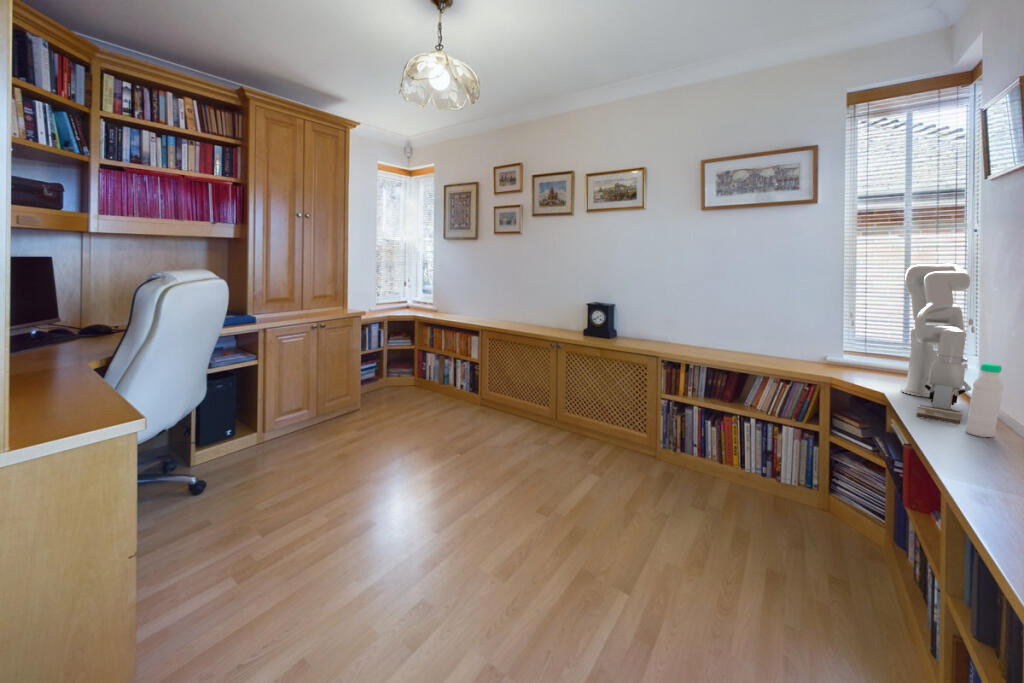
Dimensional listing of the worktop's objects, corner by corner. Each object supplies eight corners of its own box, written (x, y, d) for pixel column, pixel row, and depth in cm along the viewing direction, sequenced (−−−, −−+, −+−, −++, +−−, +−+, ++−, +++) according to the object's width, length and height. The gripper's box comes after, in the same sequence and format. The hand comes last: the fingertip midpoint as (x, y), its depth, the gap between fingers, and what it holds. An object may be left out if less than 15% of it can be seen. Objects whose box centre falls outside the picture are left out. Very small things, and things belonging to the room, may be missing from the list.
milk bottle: (981, 438, 149) (993, 367, 145) (959, 431, 156) (970, 362, 152) (1000, 437, 150) (1013, 366, 146) (977, 430, 157) (989, 362, 153)
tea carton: (931, 408, 180) (935, 385, 178) (933, 405, 185) (936, 382, 183) (950, 411, 176) (954, 387, 174) (951, 407, 181) (954, 384, 179)
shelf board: (919, 408, 181) (921, 399, 180) (961, 415, 172) (962, 405, 172) (916, 416, 171) (917, 407, 170) (959, 424, 163) (961, 414, 162)
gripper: (979, 361, 173) (972, 405, 176) (921, 355, 186) (915, 396, 189) (979, 364, 168) (972, 409, 171) (919, 358, 181) (913, 400, 184)
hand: (942, 402), depth 180 cm, fingers closed on tea carton, 5 cm apart
